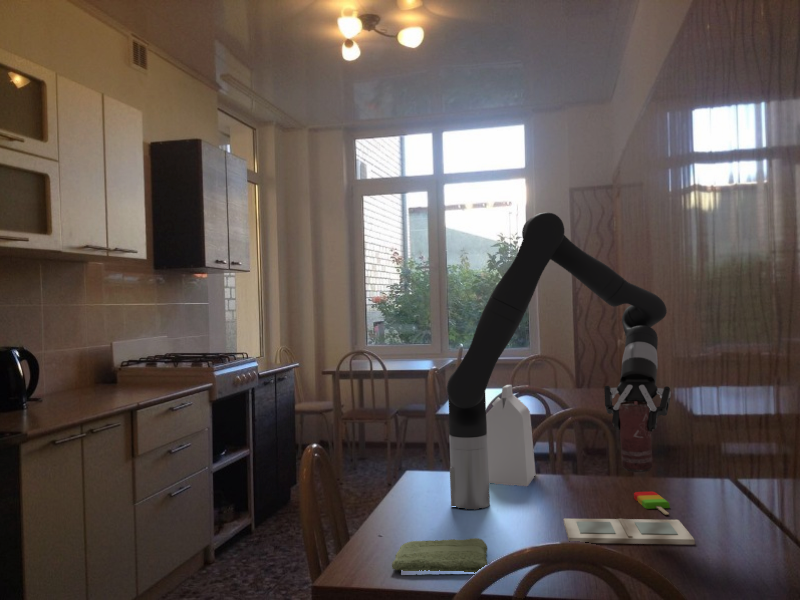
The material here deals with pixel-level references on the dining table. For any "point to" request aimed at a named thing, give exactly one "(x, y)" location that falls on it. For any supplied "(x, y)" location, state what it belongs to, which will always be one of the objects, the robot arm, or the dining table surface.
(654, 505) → the popsicle
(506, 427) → the milk
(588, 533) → the white flat rectangular tray
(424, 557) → the washcloth
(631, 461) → the can
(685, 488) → the dining table surface
